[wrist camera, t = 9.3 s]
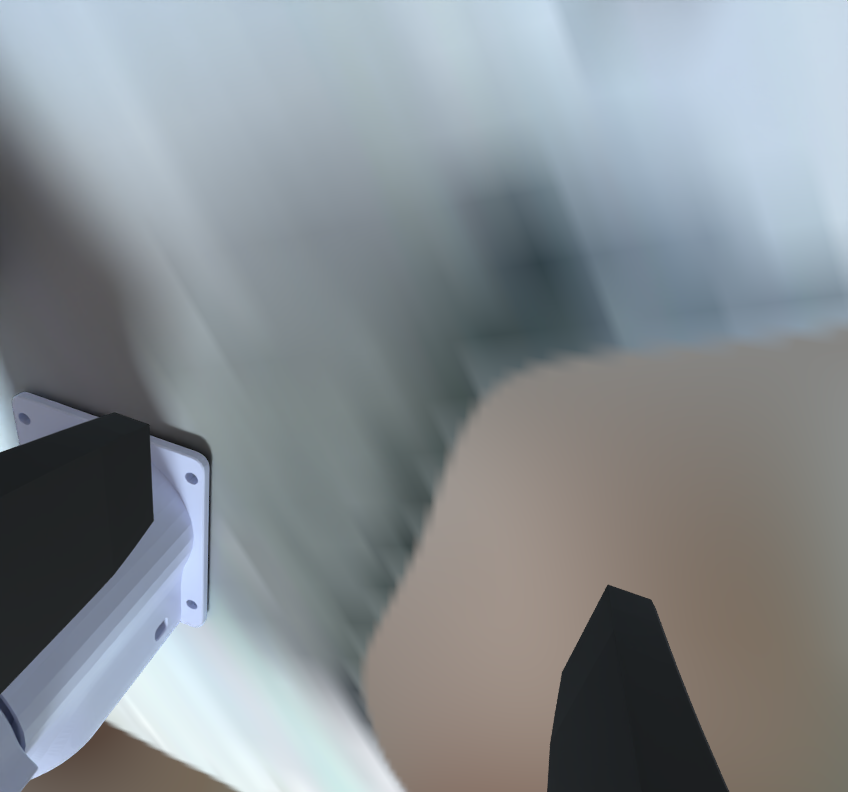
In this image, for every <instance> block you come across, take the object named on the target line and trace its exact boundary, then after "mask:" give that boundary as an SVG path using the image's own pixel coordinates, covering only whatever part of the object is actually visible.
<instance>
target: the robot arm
mask: <svg viewBox="0 0 848 792" xmlns="http://www.w3.org/2000/svg"><path fill="white" fill-rule="evenodd" d="M12 406H13V412H14V417H15V422H16V428H17V433H18V438H19V444H20V446H17V447H14V448H11V449H8V450H6V451H3V452H0V792H21V791H22V789H23V788H24V787H25V785H26V784H27V783H28V782H29V780H31V779H33V778H35V777H38V776H40V775H42V774H44V773H46V772H48V771H50V770H51V769H53V768H55V767H56V766H58V765H60V764H61V763H63V762H64V761H66V760H67V759H68V758H70V757H71V756H72V755H73V754H75V753H76V752H77V751H78V750H79V749H81V748H82V747H83V746H84V744H86V743H87V742H88V740H89V739H90V738H91V737H92V736H93V735H94V733H95V732H96V731H97V730H98V728H99V727H100V726H101V724H102V723H103V722H104V720H105V719H106V718H107V717H108V715H109V714H110V713H111V711H112V710H113V709H114V707H115V706H116V705H117V703H118V702H119V701H120V699H121V698H122V697H123V696H124V694H125V693H126V692H127V690H128V689H129V688H130V686H131V685H132V684H133V682H134V681H135V680H136V679H137V677H138V676H139V675H140V673H141V672H142V671H143V669H144V668H145V667H146V665H147V664H148V663H149V662H150V660H151V659H152V658H153V656H154V655H155V654H156V652H157V651H158V650H159V648H160V647H161V646H162V644H163V643H164V642H165V641H166V639H167V638H168V637H169V635H170V634H171V633H172V631H173V630H174V629H175V627H176V626H177V625H178V624H179V622H182V623H184V624H187V625H189V626H192V627H201V626H202V625H203V624H204V622H205V621H206V619H207V582H208V522H209V462H208V461H207V459H206V457H204V456H203V455H202V454H201V453H199V452H196V451H194V450H191V449H188V448H185V447H182V446H179V445H176V444H174V443H171V442H168V441H165V440H162V439H159V438H157V437H154V436H151V435H150V428H149V424H146V423H143V422H140V421H137V420H134V419H131V418H129V417H126V416H123V415H120V414H117V413H112V414H109V415H106V416H102V417H97V416H94V415H91V414H88V413H85V412H82V411H80V410H77V409H74V408H71V407H68V406H65V405H62V404H60V403H57V402H54V401H51V400H48V399H45V398H43V397H40V396H37V395H34V394H31V393H28V392H22V393H19V394H18V395H16V396H14V397H13V399H12ZM193 474H194V475H195V476H196V477H195V476H194V475H193ZM547 792H729V790H728V788H727V786H726V784H725V781H724V779H723V777H722V774H721V772H720V770H719V767H718V765H717V763H716V760H715V758H714V756H713V753H712V751H711V749H710V746H709V744H708V742H707V740H706V737H705V735H704V733H703V730H702V728H701V726H700V723H699V721H698V718H697V716H696V714H695V711H694V708H693V706H692V703H691V701H690V698H689V696H688V693H687V691H686V688H685V686H684V683H683V681H682V678H681V675H680V673H679V670H678V668H677V665H676V662H675V660H674V657H673V654H672V652H671V649H670V646H669V644H668V641H667V638H666V636H665V633H664V630H663V627H662V625H661V622H660V619H659V616H658V614H657V611H656V608H655V606H654V604H653V602H652V600H650V599H648V598H645V597H642V596H639V595H636V594H633V593H630V592H628V591H625V590H622V589H619V588H616V587H613V586H610V585H607V587H606V589H605V591H604V593H603V595H602V597H601V599H600V601H599V602H598V604H597V606H596V608H595V610H594V612H593V614H592V616H591V618H590V620H589V622H588V624H587V625H586V627H585V629H584V632H583V633H582V635H581V637H580V639H579V641H578V643H577V645H576V647H575V649H574V650H573V652H572V654H571V656H570V658H569V660H568V662H567V664H566V666H565V668H564V670H563V672H562V676H561V682H560V688H559V693H558V699H557V705H556V711H555V717H554V723H553V730H552V736H551V742H550V755H549V773H548V788H547Z"/></svg>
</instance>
